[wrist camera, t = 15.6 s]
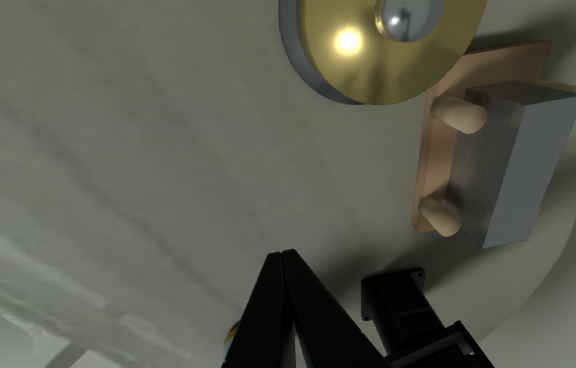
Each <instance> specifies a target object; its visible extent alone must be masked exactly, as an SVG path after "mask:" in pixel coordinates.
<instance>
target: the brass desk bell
mask: <svg viewBox="0 0 576 368" xmlns="http://www.w3.org/2000/svg"><path fill="white" fill-rule="evenodd" d="M444 2H445V0H378V2H377V5H376V10H375V21H376V26H377V28H378V30H379V32H380V33H381V35H382V36H383V37H384V38H386V39H388V40H391V41H397V42H406V43H412V42H417V41H419V40H421V39H423V38H425V37H426V36H427V35H429V34H430V33H431V32H432V31H433V29H434V28H435V27H436V25H437V24H438V22H439V20H440V18H441V16H442V13H443V9H444ZM296 3H297V0H279V11H278V16H279V28H280V33H281V39H282V42H283V45H284V49H285V52H286V54H287V56H288V58H289V61H290V63H291V64H292V66H293V67H294V69H295V71H296V72H297V73H298V74H299V76H300V77H301V78H302V79H303V80H304V81H305V82H306V83H307V84H308V85H309V86H310V87H311V88H312V89H313V90H315V91H316V92H317V93H319V94H320V95H322V96H324V97H326V98H328V99H330V100H333V101H336V102H339V103H344V104H350V105H362V104H365V103H361V102H358V101H355V100H353V99H351V98H349V97H347V96H345V95H344V94H342V93H341V92H339V91H338V90H337V89H335V88H334V87H333V86H331V85H330V84H329V83H327V82H326V81H324V80H323V79H322V78H321V77H320V76H319V75H318V74H317V73H316V72H315V71H314V69H313V68H312V67H311V66H310V64H309V62H308V61H307V59H306V57H305V55H304V53H303V50H302V48H301V45H300V41H299V38H298V32H297V26H296Z"/></svg>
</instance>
